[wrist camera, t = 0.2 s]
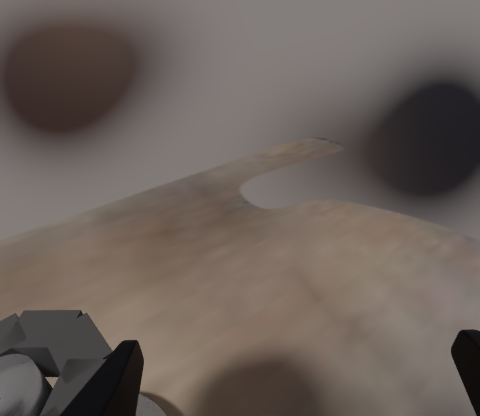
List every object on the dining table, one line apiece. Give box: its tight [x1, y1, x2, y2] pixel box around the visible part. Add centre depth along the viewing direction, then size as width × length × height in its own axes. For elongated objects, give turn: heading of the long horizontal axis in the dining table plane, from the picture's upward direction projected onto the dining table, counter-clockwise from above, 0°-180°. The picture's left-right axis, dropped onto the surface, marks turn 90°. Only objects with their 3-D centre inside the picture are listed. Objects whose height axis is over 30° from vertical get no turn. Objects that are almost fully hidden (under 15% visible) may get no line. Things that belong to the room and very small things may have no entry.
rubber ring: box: [0, 310, 113, 416], centre depth 13 cm, size 8×8×2 cm
